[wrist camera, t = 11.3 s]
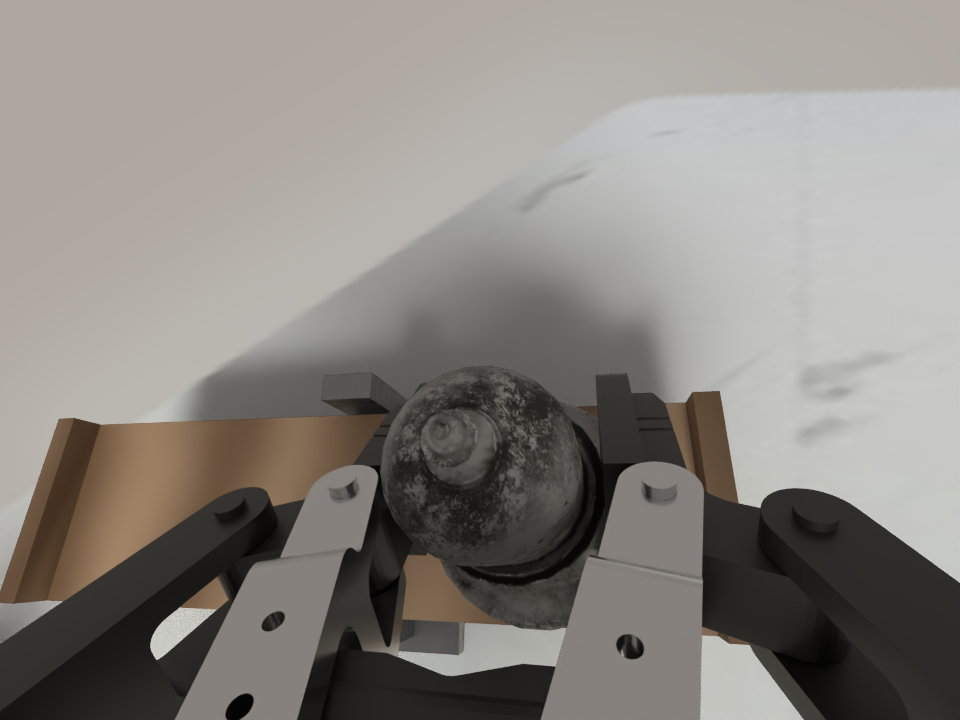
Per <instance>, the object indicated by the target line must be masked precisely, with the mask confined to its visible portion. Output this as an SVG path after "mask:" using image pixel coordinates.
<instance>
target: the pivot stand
mask: <svg viewBox="0 0 960 720" xmlns="http://www.w3.org/2000/svg"><path fill="white" fill-rule="evenodd" d="M321 400H322V401H324V402H326V403H328V404H329V405H331V406H333V407H335V408H337V409H339V410H341V411H343V412H344V413H346V414H348V415H371V414H388V413H389V412H390V411H392V410H393V409H395V408H396V407H397V406H399V405H400V404H401V403H406V402H407V401H408V400H407V399H406V398H404V397H403V396H402V395H400V394H399V393H398V392H397V391H395V390H394V389H393V388H391V387H390V386H389V385H388V384H386V383H385V382H384V381H382V380H381V379H380V378H379V377H377V376H376V375H375V374H373V373H356V374H340V375H325V376H324V383H323V391H322V398H321ZM463 644H464V622H445V621H426V620H407V619H402V625H401V633H400V642H399V651H409V652H423V653H437V654H451V655H459V654H460V653H462V652H463Z"/></svg>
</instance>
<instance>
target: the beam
mask: <svg viewBox="0 0 960 720" xmlns="http://www.w3.org/2000/svg"><path fill="white" fill-rule="evenodd" d="M665 404H666V407H667V410H668V413H669V416H670V419H671V422H672V426H673V431H674V432H675V435H676V438H677V441H678V444H679V447H680V450H681V453H682V456H683V459H684V462H685V465H686V468H687V470H688V471H690V472H691V473H693V474H694V475H695V476H696V477H697V478H698V479H699V480H700V482H701V483H702V486H703V490H704V491H706V492H708V493H709V494H711V495H714V496H716V497H718V498H721V499H724V500H726V501H730V502H734V503H738V498H737V492H736V486H735V480H734V474H733V468H732V462H731V456H730V450H729V444H728V438H727V432H726V426H725V420H724V414H723V408H722V402H721V396H720V391H711V392H692V394H691V395H690V397H689V398H688V400H687V401H686V403H665ZM577 408H579V409H581V410H583V411H585V412H587V413H589V414H591V415H593V416H595V417H597V418H598V409H597V406H582V407H577ZM386 415H387V414H371V415H345V416H319V417H292V418H266V419H240V420H213V421H187V422H161V423H134V424H109V425H99V424H96V423H92V422H87V421H83V420H80V419H76V418H69V419H68V418H67V419H59V420H58V423H57V427H56V429H55V432H54V435H53V438H52V441H51V444H50V447H49V450H48V453H47V456H46V459H45V462H44V464H43V467H42V470H41V473H40V477H39V479H38V482H37V485H36V488H35V491H34V494H33V497H32V500H31V503H30V506H29V509H28V512H27V514H26V517H25V520H24V523H23V526H22V529H21V532H20V535H19V538H18V541H17V544H16V547H15V550H14V553H13V556H12V559H11V562H10V564H9V567H8V570H7V573H6V576H5V579H4V582H3V585H2V588H1V591H0V603H12V604H14V603H24V602H34V601H44V600H51V601H65V600H66V599H68V598H69V597H71V596H72V595H74V594H75V593H77V592H78V591H80V590H81V589H83V588H84V587H86V586H87V585H89V584H90V583H92V582H93V581H94V580H96V579H97V578H99V577H100V576H102V575H103V574H105V573H106V572H108V571H109V570H111V569H112V568H114V567H115V566H117V565H118V564H120V563H121V562H123V561H124V560H126V559H127V558H129V557H130V556H131V555H133V554H134V553H136V552H137V551H139V550H140V549H142V548H143V547H145V546H146V545H148V544H149V543H151V542H152V541H154V540H155V539H157V538H158V537H160V536H161V535H163V534H164V533H166V532H167V531H168V530H170V529H171V528H173V527H174V526H176V525H177V524H179V523H180V522H182V521H183V520H185V519H186V518H188V517H189V516H191V515H192V514H194V513H195V512H197V511H198V510H200V509H201V508H203V507H204V506H205V505H207V504H208V503H210V502H211V501H213V500H215V499H216V498H218V497H220V496H222V495H224V494H226V493H228V492H231V491H234V490H237V489H241V488H246V487H259V488H262V489H264V490H266V491H267V493H268V495H269V498H270V500H271V503H272V505H273V506H276V505H281V504H285V503H290V502H294V501H299V500H303V499H306V497H307V495H308V492H309V490H310V489H311V487H312V486H313V484H314V483H315V482H316V481H317V480H319V479H320V478H321V477H322V476H324V475H326V474H327V473H329V472H331V471H333V470H336V469H338V468H342V467H345V466H350V465H353V464H354V462H355V461H356V459H357V458H358V456H359V455H360V453H361V452H362V451H363V449H364V448H365V446H366V445H367V443H368V442H369V440H370V439H371V438H373V434H374V433H375V431H376V430H377V429H378V428H380V424H381V423H382V421H383V420H384V418H385V417H386ZM403 567H404V571H405V574H406V590H405V599H404V607H403V616H402V619H407V620H426V621H445V622H464V623H482V624H501V625H510V624H507V623H505V622H502V621H499V620H497V619H494V618H491V617H490V616H488V615H487V614H486V613H484V612H483V611H482V610H480V609H479V608H477V607H476V606H475V605H473V604H472V603H471V602H469V601H468V600H467V599H465V597H464V596H463V595H462V594H461V592H460V591H459V590H458V589H457V587H456V586H455V585H454V583H453V582H452V581H451V580H450V578H449V577H448V576H447V575H446V572H445V570H444V568H443V566H442V563H441V561H440V559H438V558H435V557H433V556H432V555H430V554H429V553H428V552H427V555H426V556H421V555H408V556H407V559H406V561H405V564H404V566H403ZM227 601H228V598H227V596H226V594H225V592H224V590H223V588H222V586H221V584H220V582H219V580H218V578H217V577H216V578H215V579H214V580H213V581H211V582H210V583H209V584H208V585H206V586H205V587H204V588H203V589H201V590H200V591H199V592H198V593H197V594H195V595H194V596H193V597H192V598H190V599H189V600H188V601H187V602H185V603H184V604H183V605H182V606H181V607H183V608H201V609H219V608H220V607H221V606H222V605H223V604H224V603H226V602H227ZM563 628H567V627H563ZM702 635H707V636H719V637H720V638H722V639H723V640H725V641H726V642H728V643H729V644H743V645H750V644H749V643H748V642H745V641H742V640H739V639H737V638H734V637H731V636H728V635H725V634H722V633H719V632H716V631H713V630H710V629H707V628H704V627H702Z"/></svg>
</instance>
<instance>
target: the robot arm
mask: <svg viewBox="0 0 960 720" xmlns="http://www.w3.org/2000/svg"><path fill="white" fill-rule="evenodd" d="M426 384H428V383H423V384H420V386H419V387H418V389H417V390H416V392H417V391H419V390H420V389H421V388H422V387H423V386H425V385H426ZM596 391H597V409H598V427H599V444H600V458H601V463H602V470H603V486H604V501H605V506H604V513H605V526H606V527H605V530H604V534H603V538H602V542H601V546H600V550H599V553H598V556H594V555H590V556H589V557H588V558H587V560H586V563H585V566H584V569H583V573H582V576H581V580H580V583H579V587H578V590H577V594H576V597H575V601H574V604H573V608H572V611H571V615H570V619H569V622H568V626H567V629H566V633H565V636H564V640H563V643H562V647H561V650H560V654H559V657H558V661H557V664H556V667H553V666H541V665H529V664H520V665H515V666H509V667H503V668H498V669H492V670H486V671H481V672H475V673H469V674H464V675H458V676H445V675H441V674H439V673H436V672H434V671H431V670H429V669H426V668H424V667H421V666H419V665H416V664H414V663H411V662H409V661H406V660H404V659H401V658H399V657H398V651H399V642H400V633H401V625H402V616H403V607H404V599H405V590H406V574H405V571H404V567H403V566H404V564H405V561H406V559H407V556H408V555H421V556H426V555H427V552H426V551H425V550H423V549H422V548H421V547H419V546H418V545H416V544H415V543H413V542H412V541H411V540H410V539H409V538H408V536H407V535H406V534H405V533H404V531H403V530H402V529H401V528H400V526H399V525H398V524H397V523H396V521H395V520H394V519H393V517H392V515H391V512H390V510H389V507H388V505H387V503H386V500H385V498H384V495H383V488H382V481H381V473H380V469H381V460H382V451H383V446H384V443H385V440H386V437H387V435H388V432H389V429H390V427H391V424H392V422H393V421H394V419H395V418H396V416H397V415H398V413H399V412H400V410H401V409H402V407H403V406H404V404H405V403H401V404H400V405H399V406H397V407H396V408H395V409H393V410H392V411H390V412H389V413H388V414H387V415H386V417H385V418H384V420H383V421H382V423H381V424H380V428H378V429H377V430H376V431H375V433H374V434H373V438H371V439H370V440H369V442H368V443H367V445H366V446H365V448H364V449H363V451H362V452H361V453H360V455H359V456H358V458H357V459H356V461H355V462H354V464H353V465H350V466H345V467H342V468H338V469H336V470H333V471H331V472H329V473H327V474H326V475H324V476H322V477H321V478H320V479H319V480H317V481H316V482H315V483H314V484H313V486H312V487H311V489H310V490H309V492H308V495H307V497H306V499H303V500H299V501H294V502H290V503H285V504H281V505H276V506H273V505H272V503H271V500H270V498H269V495H268V493H267V491H266V490H264V489H262V488H259V487H246V488H241V489H237V490H234V491H231V492H228V493H226V494H224V495H222V496H220V497H218V498H216V499H215V500H213V501H211V502H210V503H208V504H207V505H205V506H204V507H203V508H201V509H200V510H198V511H197V512H195V513H194V514H192V515H191V516H189V517H188V518H186V519H185V520H183V521H182V522H180V523H179V524H177V525H176V526H174V527H173V528H171V529H170V530H168V531H167V532H166V533H164V534H163V535H161V536H160V537H158V538H157V539H155V540H154V541H152V542H151V543H149V544H148V545H146V546H145V547H143V548H142V549H140V550H139V551H137V552H136V553H134V554H133V555H131V556H130V557H129V558H127V559H126V560H124V561H123V562H121V563H120V564H118V565H117V566H115V567H114V568H112V569H111V570H109V571H108V572H106V573H105V574H103V575H102V576H100V577H99V578H97V579H96V580H94V581H93V582H92V583H90V584H89V585H87V586H86V587H84V588H83V589H81V590H80V591H78V592H77V593H75V594H74V595H72V596H71V597H69V598H68V599H66V600H65V601H63V602H62V603H60V604H59V605H57V606H56V607H55V608H53V609H52V610H50V611H49V612H47V613H46V614H44V615H43V616H41V617H40V618H38V619H37V620H35V621H34V622H32V623H31V624H29V625H28V626H26V627H25V628H23V629H22V630H20V631H19V632H18V633H16V634H15V635H13V636H12V637H10V638H9V639H7V640H6V641H4V642H3V643H1V644H0V720H700V695H701V646H702V627H704V628H707V629H710V630H713V631H716V632H719V633H722V634H725V635H728V636H731V637H734V638H737V639H739V640H742V641H745V642H748V643H749V644H750V646H751V648H752V650H753V652H754V653H755V655H756V657H757V658H758V659H759V661H760V662H761V663H762V665H763V666H764V667H765V669H766V670H767V671H768V672H769V674H770V675H771V676H772V678H773V679H774V680H775V682H776V683H777V684H778V686H779V687H780V688H781V690H782V691H783V692H784V694H785V695H786V696H787V698H788V699H789V700H790V702H791V703H792V704H793V706H794V707H795V708H796V710H797V711H798V712H799V714H800V715H801V716H802V718H803V719H804V720H960V583H959V582H958V581H956V580H955V579H954V578H952V577H951V576H949V575H948V574H947V573H945V572H944V571H943V570H941V569H940V568H938V567H937V566H936V565H934V564H933V563H932V562H930V561H929V560H927V559H926V558H925V557H923V556H922V555H921V554H919V553H918V552H916V551H915V550H914V549H912V548H911V547H910V546H908V545H907V544H905V543H904V542H903V541H901V540H900V539H899V538H897V537H896V536H894V535H893V534H892V533H890V532H889V531H888V530H886V529H885V528H883V527H882V526H881V525H879V524H878V523H877V522H875V521H874V520H872V519H871V518H870V517H868V516H867V515H866V514H864V513H863V512H861V511H860V510H859V509H857V508H856V507H854V506H853V505H851V504H850V503H848V502H846V501H844V500H842V499H840V498H838V497H835V496H833V495H830V494H827V493H824V492H820V491H815V490H810V489H799V488H792V489H783V490H779V491H776V492H773V493H771V494H769V495H768V496H767V497H766V498H765V499H764V500H763V502H762V504H761V508H757V507H753V506H748V505H743V504H738V503H734V502H730V501H726V500H724V499H721V498H718V497H716V496H714V495H711V494H709V493H708V492H706V491H704V490H703V486H702V483H701V482H700V480H699V479H698V478H697V477H696V476H695V475H694V474H693V473H691V472H690V471H688V470H687V468H686V465H685V462H684V459H683V456H682V453H681V450H680V447H679V444H678V441H677V438H676V435H675V432H674V431H673V426H672V422H671V419H670V416H669V413H668V410H667V407H666V404H665V403H664V402H663V401H661V400H660V399H659V398H658V397H657V396H655V395H654V394H653V393H634V394H631V390H630V385H629V380H628V376H627V373H625V374H605V375H596ZM416 392H415V393H416ZM216 577H217V578H218V580H219V582H220V584H221V586H222V588H223V590H224V592H225V594H226V596H227V598H228V601H227V602H226V603H224V604H223V605H222V606H221V607H220V608H219V609H217V610H216V611H215V612H214V613H213V614H212V615H211V616H209V617H208V618H207V619H206V620H205V621H204V622H202V623H201V624H200V625H199V626H198V627H197V628H196V629H194V630H193V631H192V632H191V633H190V634H189V635H187V636H186V637H185V638H184V639H183V640H182V641H181V642H179V643H178V644H177V645H176V646H175V647H174V648H172V649H171V650H170V651H169V652H168V653H167V654H166V655H164V656H163V657H162V658H160V659H158V660H156V659H155V657H154V656H153V654H152V652H151V649H150V642H151V638H152V636H153V634H154V632H155V630H156V629H157V627H158V626H159V625H160V624H161V622H162V621H164V620H165V619H166V618H167V617H168V616H169V615H171V614H172V613H173V612H174V611H176V610H177V609H178V608H179V607H181V606H182V605H183V604H184V603H185V602H187V601H188V600H189V599H190V598H192V597H193V596H194V595H195V594H197V593H198V592H199V591H200V590H201V589H203V588H204V587H205V586H206V585H208V584H209V583H210V582H211V581H213V580H214V579H215V578H216Z"/></svg>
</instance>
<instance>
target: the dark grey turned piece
mask: <svg viewBox="0 0 960 720" xmlns="http://www.w3.org/2000/svg"><path fill="white" fill-rule="evenodd" d="M380 473H381V481H382V488H383V495H384V498H385V500H386V503H387V505H388V507H389V510H390V512H391V515H392V517H393V519H394V520H395V521H396V523H397V524H398V525H399V526H400V528H401V529H402V530H403V531H404V533H405V534H406V535H407V536H408V538H409V539H410V540H411V541H412V542H413V543H415V544H416V545H418V546H419V547H421V548H422V549H423V550H425V551H426V552H428V553H429V554H430V555H432V556H433V557H435V558H438V559H440V561H441V563H442V566H443V568H444V570H445V572H446V575H447V576H448V577H449V578H450V580H451V581H452V582H453V583H454V585H455V586H456V587H457V589H458V590H459V591H460V592H461V594H462V595H463V596H464V597H465V599H467V600H468V601H469V602H471V603H472V604H473V605H475V606H476V607H477V608H479V609H480V610H482V611H483V612H484V613H486V614H487V615H488V616H490V617H491V618H494V619H497V620H499V621H502V622H505V623H507V624H510V625H513V626H515V627H518V628H524V629H539V630H555V629H559V628H563V627H567V626H568V622H569V619H570V615H571V611H572V608H573V604H574V601H575V597H576V594H577V590H578V587H579V583H580V580H581V576H582V573H583V569H584V566H585V563H586V560H587V558H588V557H589V556H590V555H594V556H598V553H599V550H600V546H601V542H602V538H603V534H604V530H605V527H606V526H605V513H604V506H605V501H604V486H603V470H602V463H601V458H600V444H599V427H598V418H597V417H595V416H593V415H591V414H589V413H587V412H585V411H583V410H581V409H579V408H577V407H575V406H573V405H569V404H565V403H560V402H558V401H557V399H556V398H554V397H553V396H552V395H551V394H550V393H549V392H548V391H546V390H545V389H544V388H543V387H542V386H541V385H540V384H538V383H537V382H535V381H533V380H531V379H529V378H527V377H525V376H523V375H521V374H519V373H517V372H515V371H513V370H508V369H502V368H497V367H492V366H482V367H466V368H463V369H459V370H456V371H453V372H450V373H446V374H443V375H442V376H440V377H438V378H436V379H435V380H433V381H431V382H430V383H428V384H426V385H425V386H423V387H422V388H421V389H420V390H419V391H417V392H416V393H415V394H414V395H413V396H412V397H411V398H410V399H409V400H408V401H407V402H406V403H405V404H404V406H403V407H402V409H401V410H400V412H399V413H398V415H397V416H396V418H395V419H394V421H393V422H392V424H391V427H390V429H389V432H388V435H387V437H386V440H385V443H384V446H383V451H382V460H381V469H380Z"/></svg>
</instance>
